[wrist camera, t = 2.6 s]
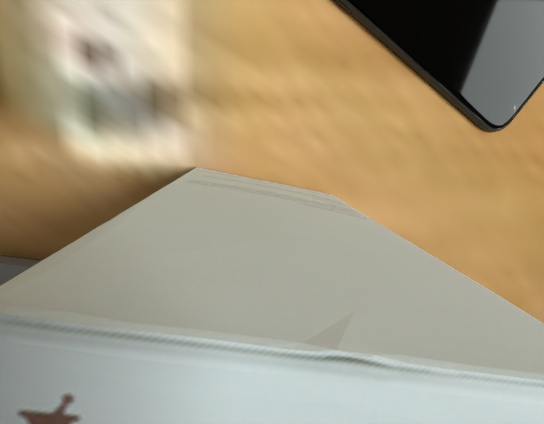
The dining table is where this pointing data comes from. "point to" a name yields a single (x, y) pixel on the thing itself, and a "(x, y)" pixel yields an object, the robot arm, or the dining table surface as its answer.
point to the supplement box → (259, 321)
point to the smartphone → (465, 49)
